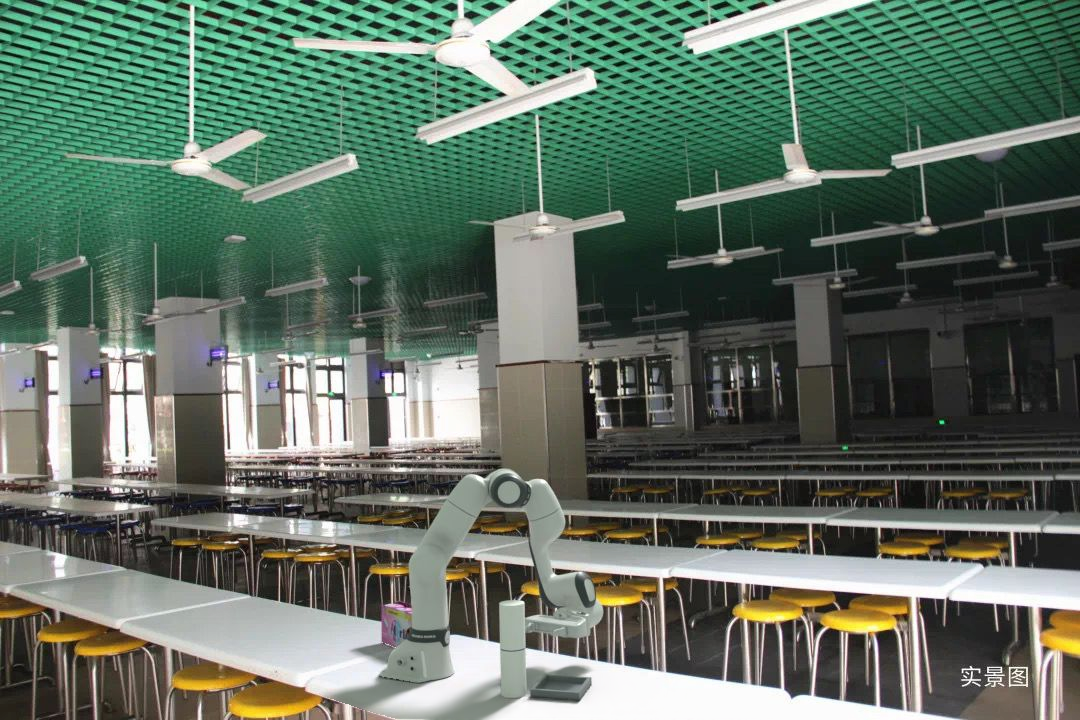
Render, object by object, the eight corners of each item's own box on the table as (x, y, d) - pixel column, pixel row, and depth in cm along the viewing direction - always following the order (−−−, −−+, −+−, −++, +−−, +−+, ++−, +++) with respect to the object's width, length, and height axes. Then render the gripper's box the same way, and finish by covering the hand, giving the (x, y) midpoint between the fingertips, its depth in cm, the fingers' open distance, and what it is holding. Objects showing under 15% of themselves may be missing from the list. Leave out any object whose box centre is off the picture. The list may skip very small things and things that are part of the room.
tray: (530, 697, 225) (530, 689, 225) (545, 681, 238) (544, 674, 238) (579, 701, 221) (579, 692, 221) (591, 685, 234) (591, 677, 234)
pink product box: (378, 642, 287) (378, 603, 288) (398, 638, 292) (398, 599, 293) (414, 656, 268) (413, 614, 269) (434, 651, 273) (434, 610, 274)
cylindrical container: (506, 699, 224) (504, 606, 225) (497, 692, 230) (495, 601, 232) (530, 695, 226) (528, 603, 228) (520, 688, 233) (518, 599, 235)
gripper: (539, 607, 256) (511, 616, 245) (593, 614, 244) (567, 624, 233) (540, 628, 256) (512, 638, 245) (594, 636, 244) (567, 647, 233)
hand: (539, 631), depth 239 cm, fingers open, 8 cm apart
